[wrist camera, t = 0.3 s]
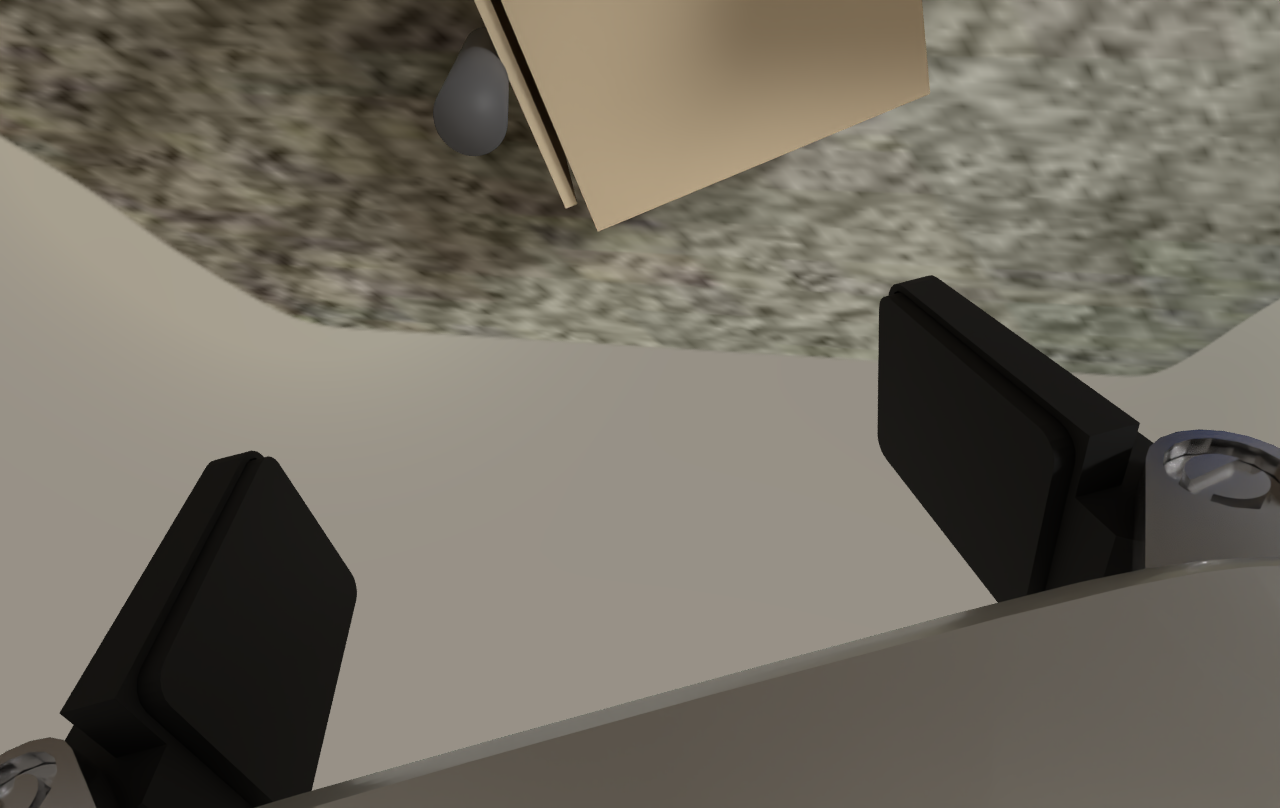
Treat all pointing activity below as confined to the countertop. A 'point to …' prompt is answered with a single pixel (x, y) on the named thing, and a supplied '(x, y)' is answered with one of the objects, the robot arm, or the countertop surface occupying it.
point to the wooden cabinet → (709, 84)
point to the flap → (496, 97)
